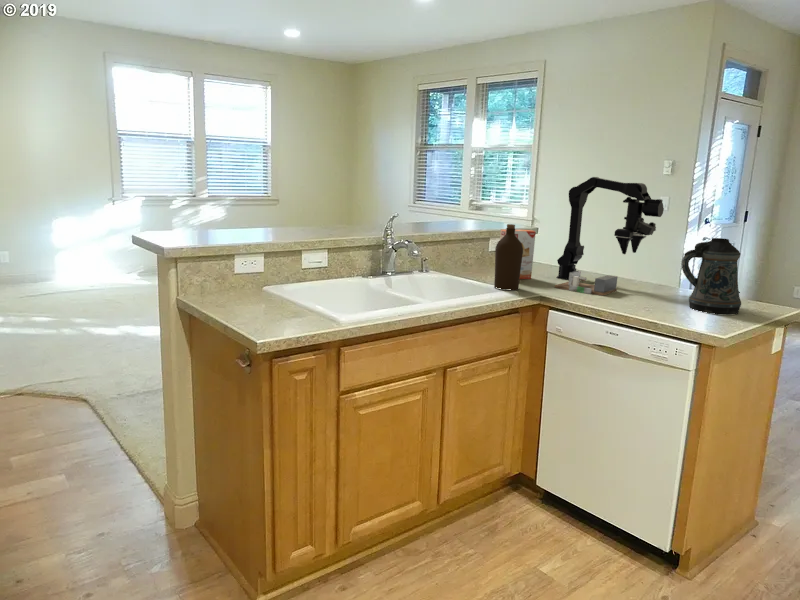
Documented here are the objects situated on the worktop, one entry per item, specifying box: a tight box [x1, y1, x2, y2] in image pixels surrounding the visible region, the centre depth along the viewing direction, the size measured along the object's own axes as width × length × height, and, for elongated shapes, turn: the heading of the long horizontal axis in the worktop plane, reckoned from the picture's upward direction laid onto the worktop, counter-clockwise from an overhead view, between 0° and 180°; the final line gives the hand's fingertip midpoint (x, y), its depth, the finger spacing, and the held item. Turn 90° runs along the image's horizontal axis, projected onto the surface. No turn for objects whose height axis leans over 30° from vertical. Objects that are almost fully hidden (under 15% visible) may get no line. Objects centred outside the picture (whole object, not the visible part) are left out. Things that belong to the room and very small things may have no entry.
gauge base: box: [554, 281, 618, 296], centre depth 242 cm, size 20×15×2 cm
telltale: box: [573, 276, 579, 286], centre depth 239 cm, size 2×2×4 cm
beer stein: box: [681, 237, 742, 315], centre depth 211 cm, size 16×19×25 cm
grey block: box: [568, 270, 587, 285], centre depth 243 cm, size 5×10×5 cm, turn 139°
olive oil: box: [493, 223, 523, 291], centre depth 236 cm, size 11×11×25 cm
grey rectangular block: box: [594, 274, 618, 293], centre depth 237 cm, size 4×12×5 cm, turn 139°
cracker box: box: [499, 228, 537, 280], centre depth 260 cm, size 14×6×21 cm, turn 107°
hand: (629, 253), depth 246 cm, fingers open, 9 cm apart
